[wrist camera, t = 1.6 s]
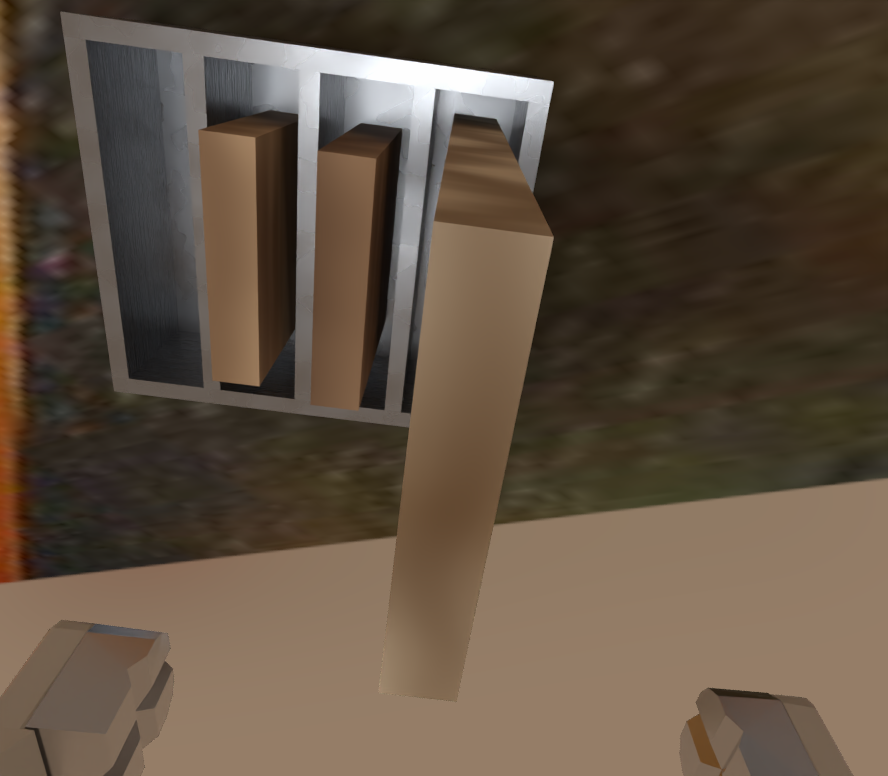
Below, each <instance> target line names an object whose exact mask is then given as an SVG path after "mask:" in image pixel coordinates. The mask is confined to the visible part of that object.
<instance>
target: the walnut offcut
mask: <svg viewBox="0 0 888 776" xmlns="http://www.w3.org/2000/svg"><path fill="white" fill-rule="evenodd" d="M401 140H402V128H395V127H388V126H381V125H373V124H366V123H360V124H358V125H357V126H355V127H354V128H352V129H351V130H349V131H348V132H346V133H344V134H343V135H341V136H340V137H338V138H337V139H335V140H333V141H332V142H330V143H329V144H327V145H326V146H324V147H322V148H321V149H319V150H318V151H317V184H316V221H315V257H314V293H313V329H312V366H311V402H310V405H315V406H324V407H332V408H340V409H348V410H356V411H359V408H360V404H361V401H362V398H363V394H364V391H365V388H366V384H367V381H368V378H369V375H370V371H371V368H372V365H373V361H374V358H375V355H376V351H377V348H378V345H379V341H380V338H381V335H382V332H383V328H384V325H385V322H386V312H387V301H388V289H389V278H390V266H391V255H392V243H393V232H394V221H395V209H396V198H397V186H398V175H399V163H400V152H401Z"/></svg>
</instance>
